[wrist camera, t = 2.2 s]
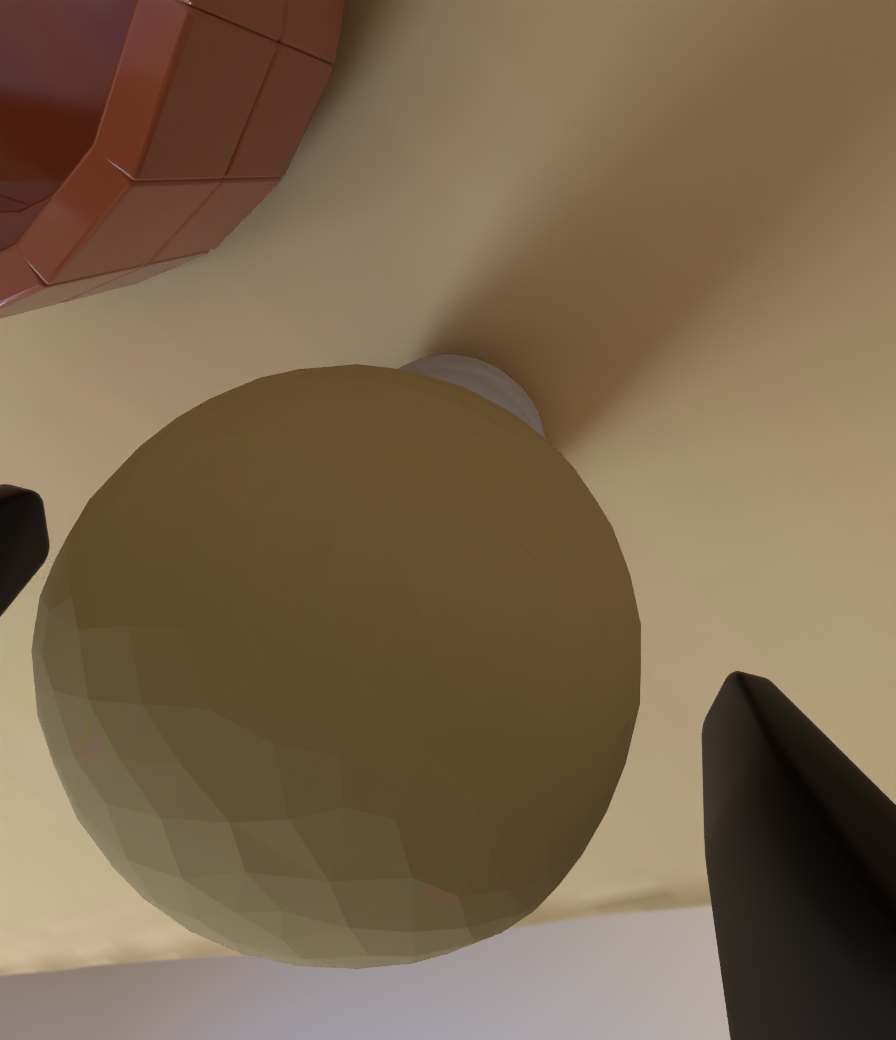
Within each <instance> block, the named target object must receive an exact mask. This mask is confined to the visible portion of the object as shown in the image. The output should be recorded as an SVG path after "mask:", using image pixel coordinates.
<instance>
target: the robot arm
mask: <svg viewBox="0 0 896 1040" xmlns="http://www.w3.org/2000/svg"><path fill="white" fill-rule="evenodd" d="M48 552H49V537H48V530H47V524H46V517H45V511H44V504H43V500H42V499H41V497H40V495H39V494H38V493H36V492H35V491H32V490H29V489H25V488H21V487H17V486H13V485H7V484H2V485H0V616H1V615H2V614H3V613H4V612H5V610H6V609H7V608H8V607H9V605H10V604H11V603H12V602H13V600H14V599H15V598H16V597H17V596H18V594H19V593H20V592H21V591H22V589H23V588H24V587H25V586H26V584H27V583H28V582H29V581H30V580H31V578H32V577H33V576H34V575H35V573H36V572H37V571H38V570H39V568H40V567H41V566H42V565H43V563H44V562H45V560H46V558H47V556H48ZM702 768H703V807H704V841H705V857H706V866H707V875H708V882H709V889H710V896H711V904H712V911H713V918H714V925H715V932H716V939H717V946H718V953H719V960H720V967H721V975H722V982H723V989H724V996H725V1003H726V1010H727V1017H728V1024H729V1031H730V1038H731V1040H896V805H895V804H894V803H893V802H892V801H891V800H890V799H889V798H888V797H887V796H886V795H885V794H884V793H883V792H882V791H881V790H880V789H879V788H878V787H877V786H876V785H875V784H874V783H873V782H872V781H871V780H870V779H869V778H868V777H867V776H866V775H865V774H864V773H863V772H862V771H861V770H860V769H859V768H858V767H857V766H856V765H855V764H854V763H853V762H852V761H851V760H850V759H849V758H848V757H847V756H846V755H845V754H844V753H843V752H842V751H841V750H840V749H839V748H838V747H837V746H836V745H835V744H834V743H833V742H832V741H831V740H830V739H829V738H828V737H827V736H826V735H825V734H824V733H823V732H822V731H821V730H820V729H819V728H818V727H817V726H816V725H815V724H814V723H813V722H812V721H811V720H810V719H809V718H808V717H807V716H805V715H804V714H803V713H802V712H801V711H800V710H799V709H798V708H797V707H796V706H795V705H794V704H793V703H792V702H791V701H790V700H789V699H788V698H787V697H786V696H785V695H784V694H783V693H782V692H781V691H780V690H779V689H778V688H777V687H776V686H775V685H774V684H773V683H772V682H771V681H770V680H768V679H766V678H764V677H760V676H756V675H752V674H748V673H744V672H740V671H735V672H732V673H731V674H730V675H729V676H728V677H727V678H726V680H725V681H724V683H723V685H722V687H721V689H720V691H719V693H718V695H717V697H716V699H715V700H714V702H713V704H712V706H711V708H710V710H709V712H708V714H707V716H706V718H705V721H704V724H703V729H702Z"/></svg>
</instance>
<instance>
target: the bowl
mask: <svg viewBox="0 0 896 1040" xmlns="http://www.w3.org/2000/svg"><path fill="white" fill-rule="evenodd" d="M344 6H345V0H0V318H4V317H8V316H12V315H16V314H20V313H24V312H28V311H32V310H36V309H39V308H43V307H47V306H51V305H55V304H59V303H62V302H67V301H71V300H74V299H78V298H82V297H86V296H90V295H94V294H98V293H102V292H106V291H110V290H114V289H117V288H121V287H125V286H129V285H133V284H136V283H139V282H141V281H143V280H146V279H148V278H150V277H153V276H155V275H157V274H160V273H162V272H164V271H167V270H169V269H171V268H174V267H176V266H179V265H181V264H183V263H186V262H188V261H190V260H193V259H195V258H197V257H200V256H202V255H204V254H207V253H209V251H210V250H212V249H215V248H216V247H217V246H218V245H219V244H220V243H221V242H222V241H223V240H224V239H225V238H226V237H227V236H228V235H229V234H230V233H231V232H232V231H233V230H234V229H235V228H236V227H237V226H238V225H239V223H240V222H241V221H242V220H243V219H244V218H245V217H246V216H247V215H248V214H249V213H250V212H251V211H252V210H253V209H254V208H255V207H256V206H257V205H258V204H259V203H260V202H261V201H262V200H263V199H264V198H265V197H266V196H267V195H268V194H269V193H270V192H271V191H272V190H273V189H274V188H275V187H276V186H277V184H278V183H279V182H280V180H281V177H283V176H284V175H285V173H286V170H287V168H288V166H289V164H290V162H291V160H292V158H293V155H294V153H295V151H296V149H297V147H298V145H299V142H300V140H301V138H302V136H303V134H304V132H305V129H306V127H307V125H308V123H309V121H310V119H311V116H312V114H313V112H314V110H315V108H316V106H317V103H318V101H319V99H320V97H321V95H322V93H323V91H324V88H325V86H326V84H327V82H328V80H329V78H330V75H331V73H332V71H333V66H332V64H334V62H335V60H336V55H337V49H338V43H339V37H340V31H341V24H342V18H343V12H344Z"/></svg>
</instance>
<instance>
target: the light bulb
mask: <svg viewBox="0 0 896 1040" xmlns="http://www.w3.org/2000/svg"><path fill="white" fill-rule="evenodd" d="M32 660H33V671H34V682H35V693H36V703H37V714H38V718H39V721H40V724H41V727H42V730H43V733H44V736H45V739H46V742H47V745H48V748H49V751H50V754H51V757H52V760H53V764H54V766H55V768H56V771H57V773H58V775H59V777H60V780H61V782H62V784H63V787H64V789H65V791H66V794H67V796H68V798H69V800H70V803H71V805H72V807H73V810H74V812H75V814H76V816H77V819H78V820H79V822H80V823H81V824H82V826H83V827H84V828H85V830H86V831H87V832H88V834H89V835H90V836H91V838H92V839H93V841H94V842H95V843H96V845H97V846H98V847H99V849H100V850H101V851H102V853H103V854H104V855H105V857H106V858H107V860H108V861H109V862H110V864H111V865H112V866H113V867H114V869H115V870H116V871H117V872H118V873H119V874H120V875H121V876H122V877H123V878H124V879H125V880H126V881H127V882H128V883H129V884H130V885H131V886H132V887H133V888H134V889H135V890H136V891H137V892H138V893H139V894H140V895H141V896H142V897H143V898H144V899H145V900H147V901H148V902H149V903H151V904H152V905H154V906H155V907H157V908H158V909H159V910H161V911H162V912H164V913H165V914H166V915H168V916H169V917H171V918H172V919H174V920H175V921H176V922H178V923H179V924H181V925H182V926H183V927H185V928H186V929H188V930H189V931H191V932H194V933H196V934H198V935H201V936H203V937H205V938H207V939H210V940H212V941H214V942H217V943H219V944H221V945H223V946H226V947H228V948H230V949H233V950H235V951H237V952H240V953H242V954H246V955H250V956H255V957H260V958H265V959H269V960H274V961H279V962H283V963H288V964H293V965H297V966H312V967H332V968H354V969H359V968H369V967H380V966H389V965H400V964H411V963H415V962H419V961H423V960H426V959H430V958H434V957H437V956H441V955H444V954H448V953H450V952H453V951H455V950H458V949H460V948H463V947H465V946H468V945H471V944H474V943H476V942H479V941H481V940H484V939H487V938H489V937H492V936H494V935H497V934H499V933H502V932H503V931H505V930H506V929H508V928H509V927H511V926H512V925H514V924H515V923H517V922H518V921H520V920H521V919H523V918H524V917H526V916H527V915H529V914H530V913H532V912H533V911H534V910H535V909H536V908H537V907H538V906H539V905H540V904H541V903H542V902H543V901H544V900H545V899H546V898H547V897H548V896H549V895H550V894H551V893H552V892H553V891H554V890H555V889H556V888H557V886H558V885H559V884H560V883H561V882H562V880H563V879H564V878H565V876H566V875H567V874H568V872H569V871H570V870H571V868H572V867H573V866H574V865H575V863H576V862H577V861H578V859H579V858H580V857H581V855H582V854H583V852H584V850H585V849H586V847H587V845H588V843H589V842H590V840H591V838H592V836H593V835H594V833H595V831H596V829H597V828H598V826H599V824H600V822H601V821H602V819H603V817H604V815H605V813H606V812H607V809H608V807H609V804H610V802H611V799H612V796H613V794H614V791H615V789H616V786H617V784H618V781H619V779H620V776H621V774H622V771H623V769H624V766H625V764H626V759H627V755H628V751H629V747H630V743H631V738H632V734H633V730H634V726H635V722H636V717H637V713H638V709H639V705H640V676H641V623H640V619H639V614H638V609H637V605H636V600H635V595H634V591H633V586H632V581H631V577H630V573H629V570H628V568H627V565H626V562H625V560H624V557H623V554H622V552H621V549H620V546H619V544H618V541H617V538H616V536H615V533H614V530H613V528H612V526H611V524H610V522H609V521H608V519H607V517H606V516H605V514H604V513H603V511H602V509H601V508H600V506H599V504H598V503H597V501H596V500H595V498H594V497H593V495H592V494H591V492H590V491H589V489H588V488H587V486H586V485H585V483H584V482H583V480H582V479H581V478H580V476H579V475H578V473H577V472H576V470H575V469H574V468H573V467H572V466H571V464H570V463H569V462H568V461H567V460H566V459H565V458H564V457H563V456H562V455H561V454H560V453H559V452H558V451H557V450H556V449H555V448H554V447H553V446H552V445H551V444H550V443H549V442H548V440H546V439H545V435H544V429H543V426H542V422H541V419H540V415H539V413H538V411H537V409H536V407H535V405H534V403H533V401H532V400H531V399H530V397H529V396H528V394H527V393H526V392H525V390H524V389H523V388H522V387H521V386H520V385H518V384H517V383H516V382H515V381H514V380H513V379H512V378H511V377H509V376H508V375H507V374H505V373H504V372H503V371H501V370H500V369H498V368H497V367H495V366H493V365H491V364H489V363H486V362H484V361H482V360H478V359H475V358H472V357H468V356H460V355H451V354H446V355H433V356H429V357H425V358H422V359H419V360H416V361H414V362H411V363H409V364H407V365H404V366H402V367H401V368H400V369H393V368H384V367H376V366H367V365H358V364H356V365H345V366H333V367H322V368H311V369H299V370H294V371H290V372H285V373H280V374H276V375H271V376H267V377H262V378H259V379H256V380H254V381H251V382H249V383H247V384H244V385H242V386H239V387H237V388H235V389H232V390H230V391H228V392H225V393H223V394H220V395H218V396H216V397H213V398H211V399H209V400H207V401H206V402H204V403H202V404H200V405H199V406H197V407H195V408H193V409H191V410H190V411H188V412H186V413H184V414H183V415H181V416H179V417H177V418H176V419H175V420H173V421H172V422H171V423H170V424H168V425H167V426H166V427H164V428H163V429H162V430H160V431H159V432H158V433H157V434H155V435H154V436H153V437H151V438H150V439H149V440H147V441H146V442H145V443H143V444H142V445H141V446H140V447H139V448H138V449H137V450H136V451H135V452H134V453H133V454H132V455H131V456H130V457H129V458H128V459H127V460H126V462H125V463H124V464H123V465H122V466H121V467H120V468H119V469H118V470H117V471H116V472H115V473H114V474H113V475H112V476H111V477H110V478H109V479H108V480H107V481H106V482H105V484H104V485H103V486H102V487H101V488H100V489H99V490H98V491H97V492H96V493H95V494H94V495H93V497H92V498H91V499H90V500H89V501H88V503H87V505H86V506H85V508H84V510H83V511H82V513H81V515H80V516H79V518H78V520H77V521H76V523H75V525H74V526H73V528H72V530H71V531H70V533H69V535H68V537H67V538H66V540H65V542H64V544H63V546H62V548H61V550H60V552H59V554H58V556H57V558H56V559H55V561H54V564H53V566H52V568H51V571H50V573H49V576H48V578H47V581H46V583H45V585H44V588H43V590H42V593H41V595H40V600H39V606H38V612H37V618H36V624H35V630H34V636H33V644H32Z"/></svg>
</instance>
